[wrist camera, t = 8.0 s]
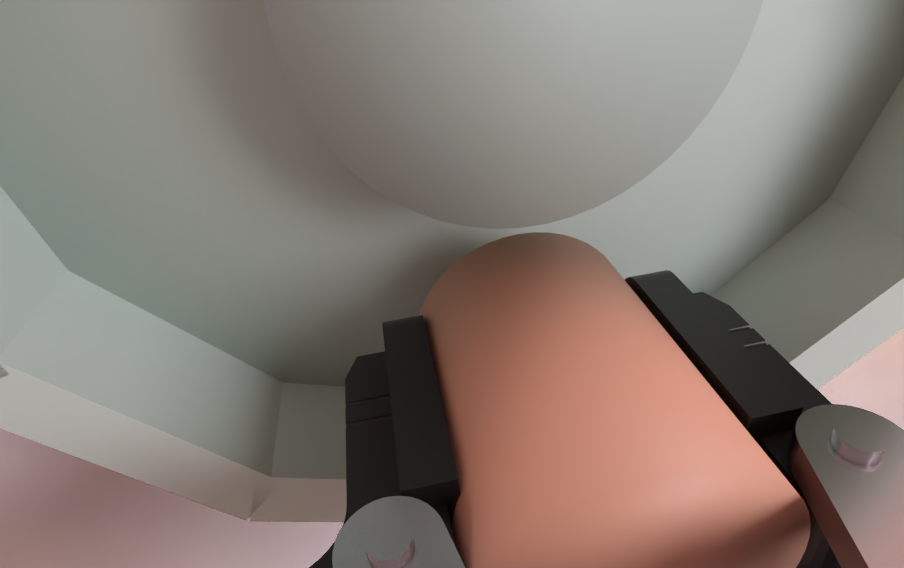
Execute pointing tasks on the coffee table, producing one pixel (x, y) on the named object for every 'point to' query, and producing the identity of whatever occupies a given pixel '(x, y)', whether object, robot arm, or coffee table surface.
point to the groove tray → (311, 260)
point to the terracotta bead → (591, 425)
